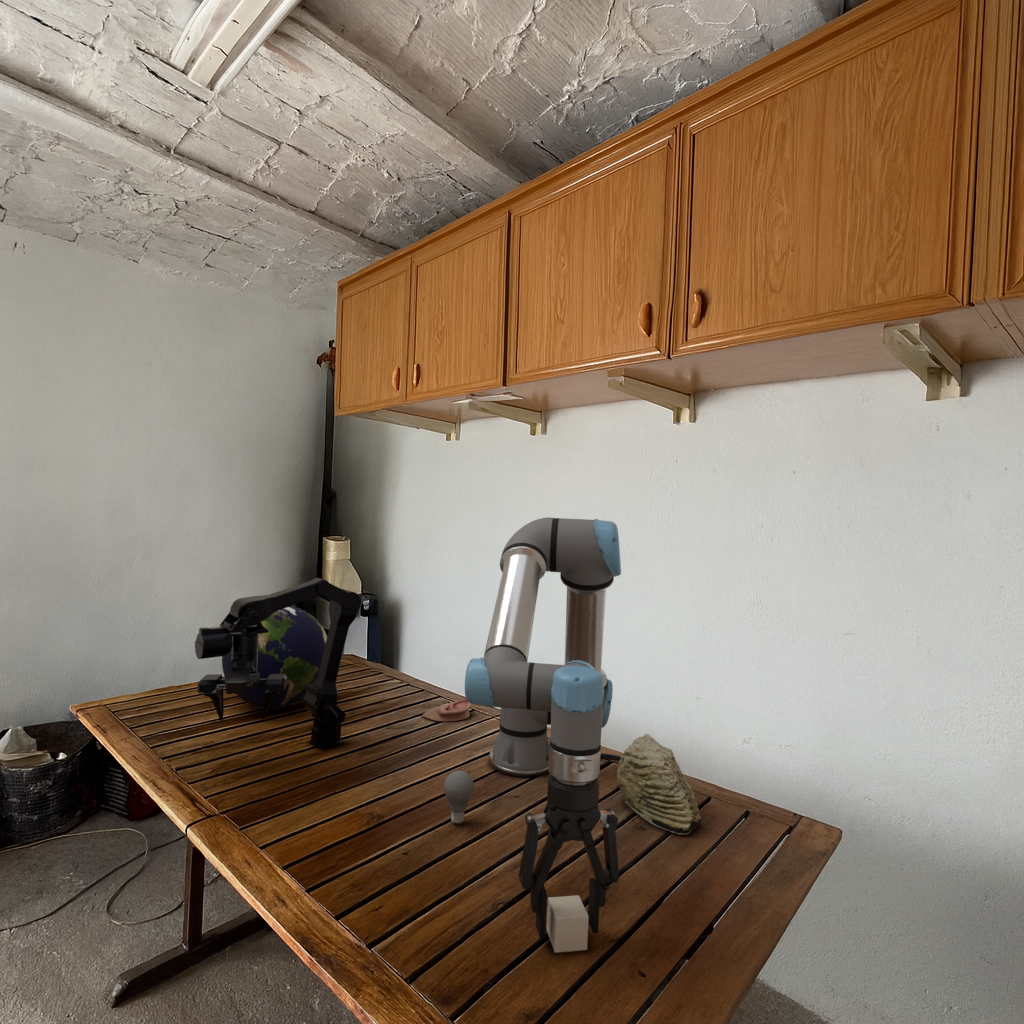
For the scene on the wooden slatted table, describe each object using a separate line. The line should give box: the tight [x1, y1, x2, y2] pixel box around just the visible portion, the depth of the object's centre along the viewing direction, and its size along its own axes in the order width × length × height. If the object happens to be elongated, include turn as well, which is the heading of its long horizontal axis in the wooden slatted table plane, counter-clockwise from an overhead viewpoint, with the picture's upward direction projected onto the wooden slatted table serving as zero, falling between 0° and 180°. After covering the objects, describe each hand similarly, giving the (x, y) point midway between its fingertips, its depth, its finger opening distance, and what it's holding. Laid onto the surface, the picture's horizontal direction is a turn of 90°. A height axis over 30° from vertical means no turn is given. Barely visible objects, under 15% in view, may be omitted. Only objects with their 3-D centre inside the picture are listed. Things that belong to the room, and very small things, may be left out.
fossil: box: [616, 733, 702, 836], centre depth 132 cm, size 9×18×15 cm, turn 46°
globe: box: [221, 605, 328, 709], centre depth 188 cm, size 30×30×30 cm
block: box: [546, 894, 589, 954], centre depth 93 cm, size 5×5×5 cm
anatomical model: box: [422, 698, 472, 722], centre depth 187 cm, size 13×4×12 cm
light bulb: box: [443, 770, 475, 824], centre depth 125 cm, size 6×6×10 cm
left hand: (242, 719), depth 148 cm, fingers open, 9 cm apart
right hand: (566, 928), depth 93 cm, fingers open, 7 cm apart
